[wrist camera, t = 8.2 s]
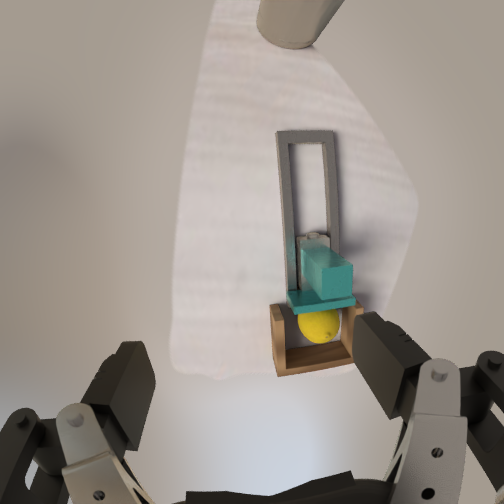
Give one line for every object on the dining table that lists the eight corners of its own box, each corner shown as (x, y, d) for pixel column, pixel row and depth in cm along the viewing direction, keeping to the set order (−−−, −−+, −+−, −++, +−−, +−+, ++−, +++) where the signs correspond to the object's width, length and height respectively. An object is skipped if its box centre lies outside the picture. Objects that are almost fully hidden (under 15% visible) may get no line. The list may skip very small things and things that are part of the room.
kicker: (281, 234, 37) (299, 254, 27) (337, 229, 38) (371, 246, 28) (284, 294, 39) (301, 329, 30) (337, 287, 40) (367, 318, 30)
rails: (275, 133, 34) (277, 131, 33) (329, 132, 35) (332, 130, 33) (286, 303, 40) (288, 307, 39) (335, 296, 41) (338, 300, 39)
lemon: (323, 282, 39) (342, 311, 32) (332, 312, 41) (351, 343, 34) (287, 297, 40) (300, 330, 32) (299, 326, 42) (312, 360, 34)
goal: (269, 304, 40) (274, 321, 35) (350, 293, 41) (363, 307, 36) (272, 357, 42) (277, 376, 38) (346, 345, 43) (357, 361, 38)
